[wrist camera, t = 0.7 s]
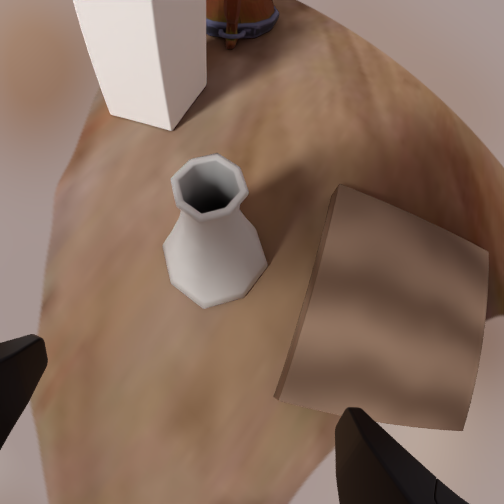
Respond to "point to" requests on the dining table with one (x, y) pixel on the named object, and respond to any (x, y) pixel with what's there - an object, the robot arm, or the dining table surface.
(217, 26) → the mug
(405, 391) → the walnut board
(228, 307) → the dining table surface
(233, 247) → the flask
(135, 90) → the milk carton
